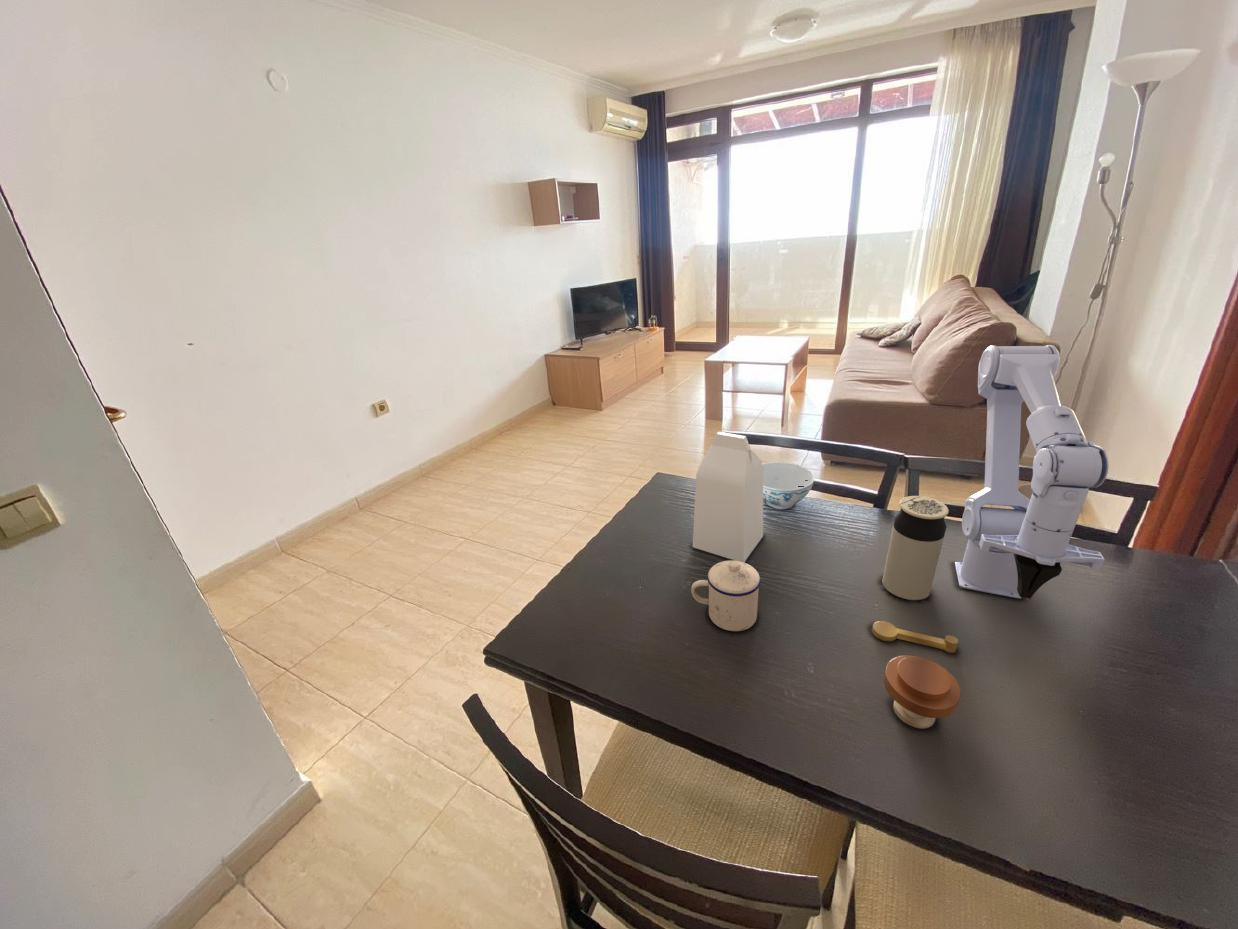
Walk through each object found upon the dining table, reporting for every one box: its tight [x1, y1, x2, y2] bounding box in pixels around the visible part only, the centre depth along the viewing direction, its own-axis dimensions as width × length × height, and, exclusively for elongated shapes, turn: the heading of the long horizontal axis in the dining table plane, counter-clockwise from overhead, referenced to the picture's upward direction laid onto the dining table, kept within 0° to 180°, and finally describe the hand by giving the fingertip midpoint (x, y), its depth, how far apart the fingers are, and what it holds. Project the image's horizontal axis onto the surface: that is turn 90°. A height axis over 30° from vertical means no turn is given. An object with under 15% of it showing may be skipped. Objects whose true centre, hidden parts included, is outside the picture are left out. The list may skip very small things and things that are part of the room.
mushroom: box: [883, 654, 962, 729], centre depth 70 cm, size 9×9×8 cm
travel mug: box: [881, 495, 950, 601], centre depth 91 cm, size 8×8×18 cm
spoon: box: [871, 620, 959, 654], centre depth 83 cm, size 12×4×2 cm, turn 65°
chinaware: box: [762, 461, 815, 510], centre depth 124 cm, size 15×15×8 cm
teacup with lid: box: [690, 559, 761, 632], centre depth 89 cm, size 12×9×12 cm
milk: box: [692, 431, 764, 563], centre depth 107 cm, size 12×12×26 cm
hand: (1023, 594), depth 79 cm, fingers closed
